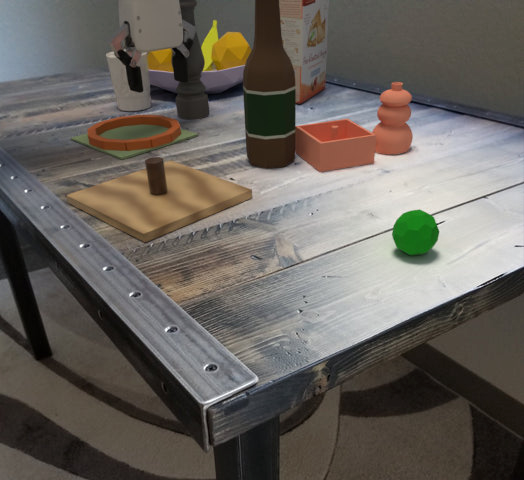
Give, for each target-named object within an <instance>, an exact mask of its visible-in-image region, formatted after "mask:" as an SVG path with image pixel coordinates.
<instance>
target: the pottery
mask: <svg viewBox="0 0 524 480" xmlns="http://www.w3.org/2000/svg"><path fill="white" fill-rule="evenodd" d="M403 84H404V83H403V82H402V81H393V82H391V87H390V88H389V89H386V90H385V91H383V92H381V94H380V96H379V101H380V103H381V104H380V106H379V107H378V109H377V112H376V116H377V118H378V120H379V123H377V124H376V125H375V126H374V128H373V129H372V131H370V130H368V129H367V128H365V127H363V126H361V125H359V124H357V123H356V122H354V121H352V120H350V119H349V118H343V119H335V120H328V121H327V120H326V121H322V122H315V123H308V124H300V125H295V155H297V156H299V158H301V159H303V160H304V161H305V162H306V163H308V164H309V166H311V167H312V168H314V169H315V170H316V171H317V172H318V173H323V172H328V171H334V170H340V169H341V170H342V169H347V168H354V167H360V166H365V165H372V164H375V155H376V153H377V154H382V155H390V154H394V155H400V154H399V153H402V154H405V153H408V152H409V151H410V148H411V146H412V143H413V139H414V138H413V136H414V135H413V131H412V129H411V126H410V125H409V124H408V123H407V122H408V121H410V119H411V116H412V108H411V106H410V105H409V104H410V103H411V102H412V99H413V97H412V94H411V92H409V91H408V90H406V89H403ZM408 150H409V151H408ZM404 152H405V153H404Z"/></svg>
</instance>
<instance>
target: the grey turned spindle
mask: <svg viewBox="0 0 524 480" xmlns="http://www.w3.org/2000/svg"><path fill="white" fill-rule="evenodd" d="M179 3H180V9H181V16H182V19H183V20H184V21H186V22H188V23H190V24H191V25H193V26H195V27H196V21H195V9H196V7H197V5H198V1H197V0H179ZM184 35H185V32H184V30H183V38H184V37H185V36H184ZM173 56H175V54H174V52H173V51H172V58H173ZM186 59H187V71H188V82H186V83H184V82H179V84H178V87H177V88H176V92H177V93H178V94H177V95H176V96H175V104H176V114H177V117H178V119H179V118H180V119H183V120H198V119H204V118H207V117H208V116H209V115H210V103H209V94H205V93H204V92H205V90H206V87H205V85H203V83H202V81H201V80H200V78H201V72H202V71H203V68H204V65H205V59H204V56H203V53H202V49H201V43H200V40H199V36H198V32H197V30H196V31H195V35H194V39H193V45H192V47H191V49H190V51H189V56H188V57H186ZM171 63H172V67H173V61H172V59H171Z"/></svg>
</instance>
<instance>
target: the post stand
mask: <svg viewBox="0 0 524 480" xmlns="http://www.w3.org/2000/svg"><path fill="white" fill-rule="evenodd" d="M144 162H145V163H144V164H145V168H144V169H140V170H136V171H134V172H131V173H128V174H125V175H121V176H119V177H116V178H113V179H110V180H107V181H103V182H101V183H98V184H95V185H93V186H89V187H86V188H83V189H80V190H77V191H74V192H71V193H68V194H66V195H65V196H66V200H67V203H68V204H69V205H71V206H73V207H75V208H77V209H79V210H81V211H82V212H85V213H87V214H89V215H90V216H92V217H94V218H96V219H99V220H100V221H102V222H104V223H106V224H108V225H110V226H112V227H114V228H116V229H118V230H120V231H122V232H123V233H126V234H127V235H129V236H132V237H134V238H135V239H137V240H139V241H141V242H143V243H148V242H150V241H153V240H154V239H155V240H156V239H157V238H160V237H162V236H164V235H166V234H169V233H171V232H174V231H177V230H179V229H182V228H183V227H186V226H188V225H190V224H193V223H195V222H198V221H200V220H203V219H204V218H207V217H210V216H212V215H214V214H217V213H219V212H222V211H224V210H226V209H229V208H231V207H233V206H236V205H238V204H241V203H243V202H245V201H247V200H250V199H252V198H253V190H252V189H251V188H249V187H246V186H244V185H241V184H237V183H234V182H232V181H229V180H227V179H223V178H221V177H218V176H215V175H212V174H209V173H207V172H205V171H201V170H199V169H196V168H193V167H191V166H187V165H185V164H182V163H179V162H176V161H174V160H168V161H164V158H163V157H159V156H152V157H148V158H146V159H145V160H144Z"/></svg>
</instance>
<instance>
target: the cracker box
mask: <svg viewBox="0 0 524 480" xmlns="http://www.w3.org/2000/svg"><path fill="white" fill-rule="evenodd" d="M279 6H280V21H281V36H282V42H283V48H284V50H285V51H286V53H287V55H288V56H289V58H290V60H291V63H292V66H293V69H294V72H295V85H296V104H300V105H302V104H303V103H305V102H306V101H308V100H309V99H311V98H312V97H314V96H316V95H317V94H319V93H321V92H322V91H323V90H326V86H327V85H326V84H327V83H326V82H327V61H328V39H329V38H328V36H329V15H330V0H279Z"/></svg>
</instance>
